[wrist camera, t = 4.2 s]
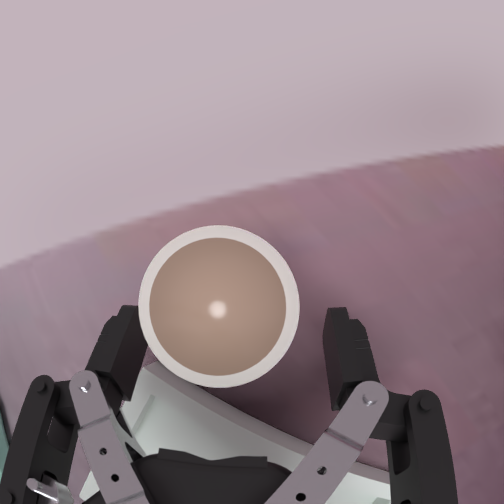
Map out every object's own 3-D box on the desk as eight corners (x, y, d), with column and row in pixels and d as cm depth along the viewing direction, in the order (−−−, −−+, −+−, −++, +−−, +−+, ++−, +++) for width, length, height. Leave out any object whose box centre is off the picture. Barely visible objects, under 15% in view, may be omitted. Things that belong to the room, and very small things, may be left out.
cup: (188, 320, 19) (113, 331, 9) (228, 252, 19) (188, 198, 10) (257, 360, 18) (246, 416, 8) (297, 291, 19) (329, 275, 9)
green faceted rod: (-60, 387, 13) (21, 574, 8) (-15, 399, 15) (64, 585, 10) (-32, 378, 18) (29, 549, 13) (10, 386, 20) (69, 558, 15)
